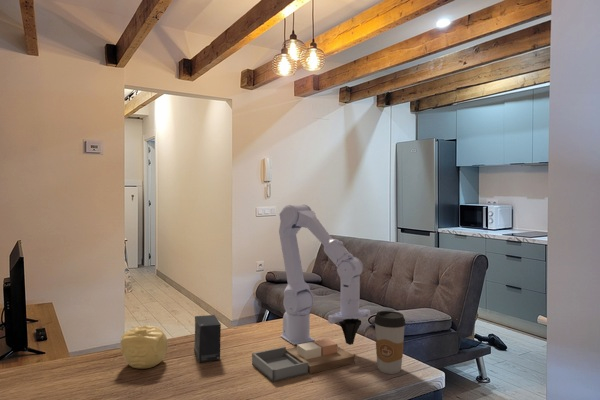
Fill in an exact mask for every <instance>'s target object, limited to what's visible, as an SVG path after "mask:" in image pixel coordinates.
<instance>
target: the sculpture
mask: <svg viewBox="0 0 600 400" xmlns="http://www.w3.org/2000/svg"><path fill="white" fill-rule="evenodd" d="M167 351H168V339H167V336H166V334H165V332H164V331H163V330H162V329H161V328H159V327H157V326H154V325H143V326H142V325H141V326H140V325H137V326H135V327H134V328H132V329H129V331H126V332H124V333H122V336H121V340H120V354H121V355H122V357H123V358H124V360H125V362H126V363H127V364H128V366H130V367H131V368H133V369H138V370H139V369H141V370H143V369H144V370H145V369H150V368H153V367H156V366H157V365H159V364H160V363H161V362H163V360H164V359H165V357H166V355H167Z"/></svg>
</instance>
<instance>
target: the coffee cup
mask: <svg viewBox="0 0 600 400" xmlns="http://www.w3.org/2000/svg"><path fill="white" fill-rule="evenodd" d="M374 327H375V329H374V331H375V349H376V350H375V351H376V364H377V365H376V366H377V368H378V370H379V372H381V373H384V374H387V375H388V374H389V375H391V374H392V375H394V374H399V373H400V371H401V369H402V367H403V366H402V365H403V354H404V346H405V345H404V344H405V343H404V341H405V340H404V337H405V328H406V319H405V317H404V314H403V313H401V312H398V311H393V310H381V311H377V312H376V314H375V316H374Z"/></svg>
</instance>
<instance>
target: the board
mask: <svg viewBox="0 0 600 400" xmlns="http://www.w3.org/2000/svg"><path fill="white" fill-rule="evenodd" d="M286 353H287V354H289V355H290V356H292V357H293V358H295V359H296V360H297V361H299V362H300V363H303V362H308V374H309V375H312V374H316V373H320V372H324V371H328V370H332V369H337V368H339V367H344V366H348V365H352V364H356V355H354V354H352V353H351V352H349V351H347V350H345V349H344V348H341V347H340V346H338V345H337V353H333V354H328V355H324V356H322V355H321V356H319V357H315V358H311V359H305V358H303V357H302V356H300V355H299V354H297V346H294V347H290V348H286Z"/></svg>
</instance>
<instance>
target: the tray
mask: <svg viewBox="0 0 600 400" xmlns="http://www.w3.org/2000/svg"><path fill="white" fill-rule="evenodd" d="M286 349H287V347H286V346H282V347H277V348H272V349H266V350H261V351H257V352H253V353H251V364H252V365H253V366H254V367H255V368H256V369H257V370H258V371H259V372H260V373H262V374H263V375H264V376H265V377H267V379H269V380H270V381H271V382H272V383H276V382H279V381H284V380H287V379H291V378H297V377H300V376H303V375H307V374H309V373H308V362H303V363H300V362H299V361H297V360H296V359H295V358H293V357H292V356H290V355H289V354H287V353H286Z"/></svg>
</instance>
